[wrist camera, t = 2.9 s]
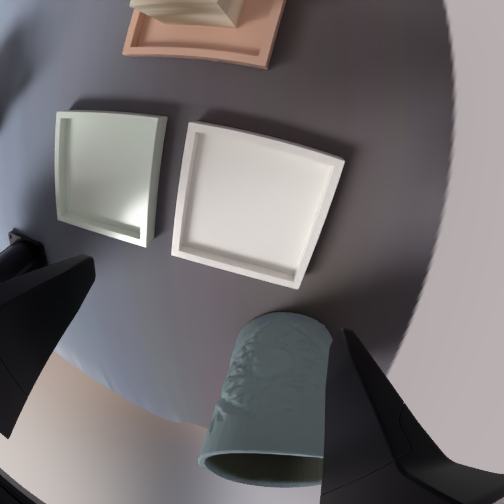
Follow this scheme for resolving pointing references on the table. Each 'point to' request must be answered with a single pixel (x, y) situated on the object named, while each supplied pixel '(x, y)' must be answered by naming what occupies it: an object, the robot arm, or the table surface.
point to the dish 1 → (109, 172)
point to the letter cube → (192, 11)
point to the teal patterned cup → (272, 405)
